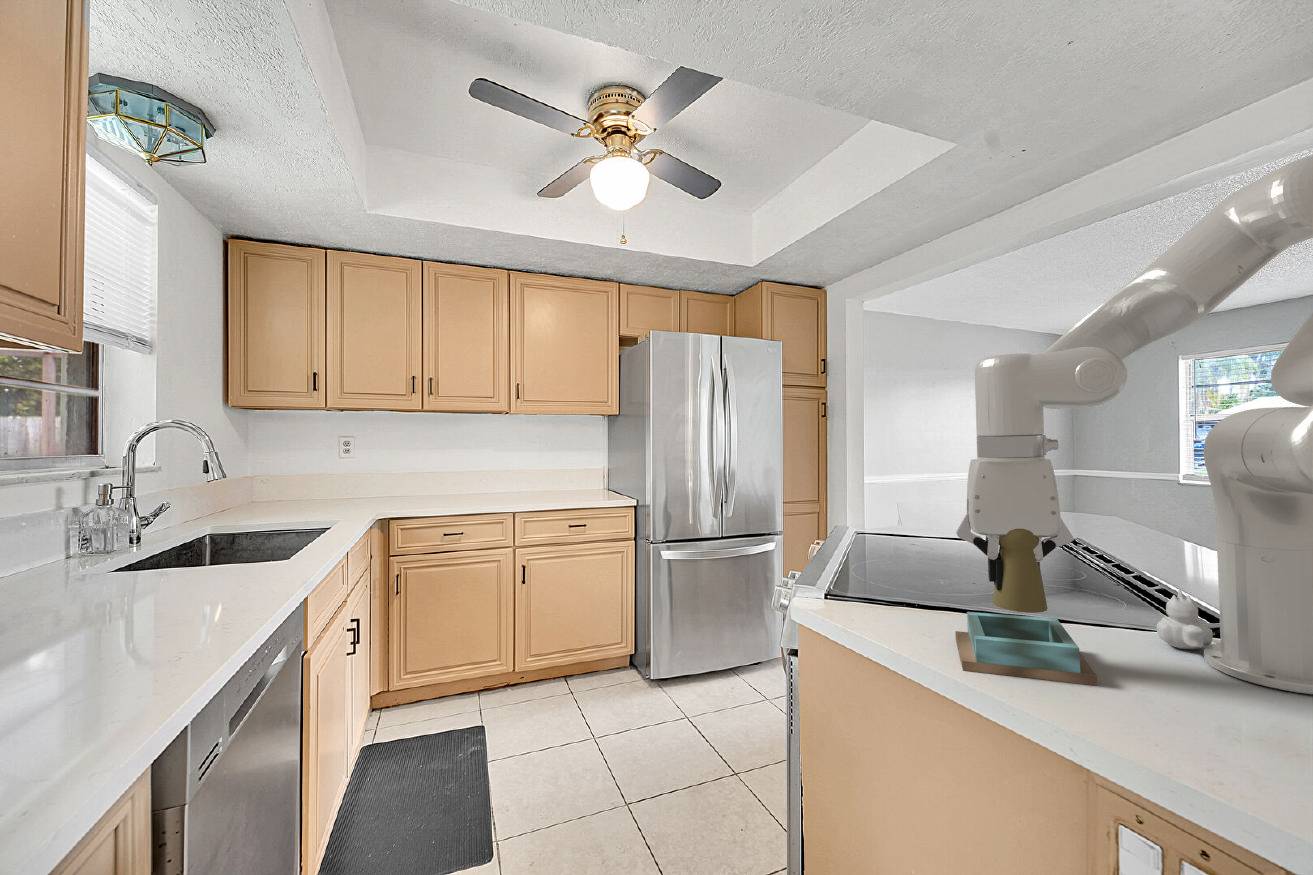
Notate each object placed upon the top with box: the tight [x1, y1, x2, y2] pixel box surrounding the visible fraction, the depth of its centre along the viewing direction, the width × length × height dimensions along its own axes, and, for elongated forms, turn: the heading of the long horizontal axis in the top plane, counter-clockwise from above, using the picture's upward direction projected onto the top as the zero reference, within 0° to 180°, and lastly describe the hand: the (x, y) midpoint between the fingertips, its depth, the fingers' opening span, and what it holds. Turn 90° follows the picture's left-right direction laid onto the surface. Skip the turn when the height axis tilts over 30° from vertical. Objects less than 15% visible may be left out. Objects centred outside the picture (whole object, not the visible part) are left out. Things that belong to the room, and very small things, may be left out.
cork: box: [992, 529, 1048, 614], centre depth 73 cm, size 6×6×11 cm
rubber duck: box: [1156, 587, 1214, 650], centre depth 74 cm, size 5×7×8 cm
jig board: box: [954, 611, 1098, 686], centre depth 74 cm, size 14×11×4 cm
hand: (1013, 587), depth 74 cm, fingers closed on cork, 2 cm apart
